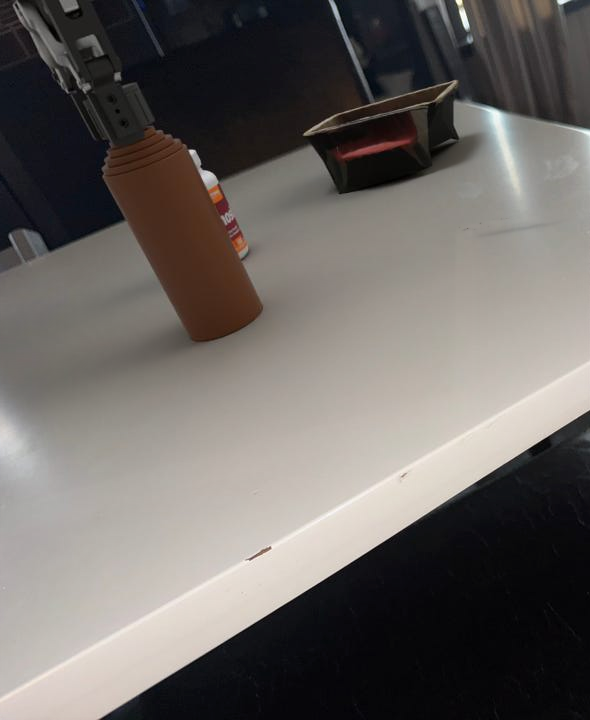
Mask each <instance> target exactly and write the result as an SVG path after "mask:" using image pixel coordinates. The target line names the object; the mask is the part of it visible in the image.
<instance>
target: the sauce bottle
mask: <svg viewBox="0 0 590 720" xmlns="http://www.w3.org/2000/svg"><path fill="white" fill-rule="evenodd" d="M143 130H144V133H145V136H144V138H143V139H142V140H140V141H138V142H135V143H133V144H130V145H127V146H125V147H122V148H120V147H116V146H114V145H113V144H112V143H111V142H110V141H109V142H108V144H109V146H110V147H109V148H107V150H106V153H107V156H106V157H104V159H103V161H104V163H105V164H104V165H103V166H102V167H101V170H102V172H103V174H102V179H103V181H104V183H105V184H106V186H107V188H108V190H109V192H110V193H111V196H112V197H113V199H114V201H115V203H116V204H117V206H118V208H119V210H120V212H121V214H122V216H123V217H124V219H125V221H126V223H127V226H128V227H129V229H130V230H131V232H132V235H133V236H134V237H135V240H136V241H137V243H138V246H139V247H140V249H141V250H142V253H143V255H144V256H145V258H146V260H147V262H148V264H149V266H150V267H151V269H152V271H153V273H154V275H155V276H156V278H157V280H158V282H159V284H160V286H161V287H162V289H163V291H164V293H165V295H166V297H167V299H168V301H169V302H170V304H171V306H172V308H173V310H174V311H175V313H176V315H177V316H178V318H179V320H180V322H181V324H182V326H183V328H184V329H185V330H184V331H185V332H186V333H187V335H188V337H189V338H190V339H191V340H193V341H196V342H197V341H198V342H205V341H211V340H215V339H219V338H222V337H225V336H228V335H230V334H232V333H235V332H236V331H238V330H241V329H242V328H244V327H245V326H247V325H248V324H250V323H251V322H253V321H254V320H255V319H256V318H257V317H258V316H259V315H260V314H261V312H262V310H263V308H264V306H263V303H262V301H261V299H260V296H259V293H257V290H256V288H255V286H254V284H253V282H252V280H251V278H250V276H249V273H248V270H246V268H245V265H244V263H243V261H242V259H240V257H239V255H238V253H237V250H236V248H235V246H234V244H233V242H232V240H231V238H230V236H229V234H228V232H227V230H226V227H225V225H224V223H223V221H222V219H221V217H220V215H219V213H218V211H217V209H216V207H215V204H214V202H213V200H212V198H211V196H210V194H209V192H208V190H207V188H206V186H205V184H204V181H203V179H202V177H201V175H200V173H199V171H198V169H197V167H196V165H195V163H194V161H193V158H192V156H191V154H190V152H189V150H190V149H189V148H188V146H187V144H185V143H182V140H181V139H180V138H173V136H172V134H170V133H169V134H165V133H164V130H162V129H158V130H156V128H155V126H154V125H147V126H145V127H143Z"/></svg>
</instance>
